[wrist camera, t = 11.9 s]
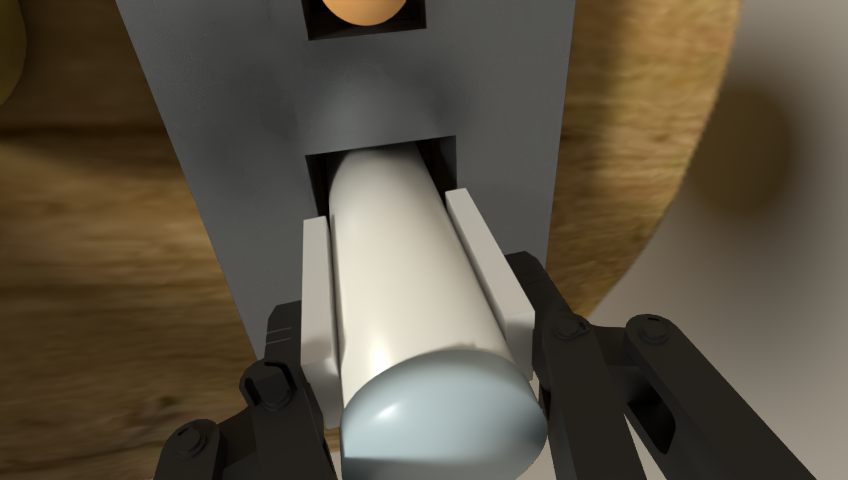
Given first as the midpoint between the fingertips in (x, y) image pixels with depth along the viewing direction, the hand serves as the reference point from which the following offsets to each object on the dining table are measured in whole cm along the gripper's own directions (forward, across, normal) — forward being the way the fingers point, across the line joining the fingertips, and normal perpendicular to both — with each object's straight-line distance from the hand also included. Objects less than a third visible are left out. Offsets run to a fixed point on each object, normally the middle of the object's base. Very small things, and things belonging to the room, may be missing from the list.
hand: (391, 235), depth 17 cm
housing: (+7, 0, 0) cm, 7 cm away
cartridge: (+6, 0, 0) cm, 6 cm away
